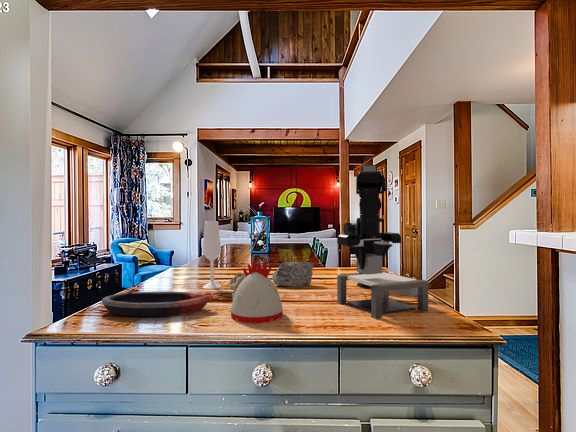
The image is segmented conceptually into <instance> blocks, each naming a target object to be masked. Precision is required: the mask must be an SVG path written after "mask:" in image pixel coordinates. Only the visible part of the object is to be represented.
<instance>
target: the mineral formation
mask: <svg viewBox="0 0 576 432" xmlns="http://www.w3.org/2000/svg"><path fill="white" fill-rule="evenodd" d="M245 277H246V276H245V274H244V272H240V271H239V272H236V274H235V275H234V277H233V278H231V279H230V282H229V284H230V285H231V286H230V290H231V291H233V292H232V294H231V298H232V300H233V298H234V295H235V292H236V290H237V288H238V286H239V284H240V283H241V282H242V280H243V279H244V278H245Z"/></svg>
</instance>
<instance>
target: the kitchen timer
mask: <svg viewBox="0 0 576 432" xmlns="http://www.w3.org/2000/svg"><path fill="white" fill-rule="evenodd" d="M267 263H268V262H267V261H265V262H264V263H263V266H262V263H261V260H258V261H257V263H256V260H255V259H254V260H253V261H252V264H247V269H248V271H247V269H246V268H245V267H244V268H242V270H243V273H244V274H245V276H246V277H245V278H244V279H243V280H242V282H241V283H240V284H239V286H238V288H237V290H236V292H235V295H234V298H233V299H232V303H231V307H230V317H231V319H232V320H233V321H235V322H238V323H244V324H264V323H271V322H275V320H276V321H278V320H280V319H281V318H282V317H283V304H282V300H281V297H280V293H279V290H278V289H277V286H276V284H274V282H273V280H272V279H271V278H269V276H270V273H271V270H272V266H270V267H268V266H267V265H268V264H267ZM251 265H252V266H251ZM279 318H280V319H279ZM277 319H278V320H277Z"/></svg>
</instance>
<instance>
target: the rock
mask: <svg viewBox="0 0 576 432" xmlns="http://www.w3.org/2000/svg"><path fill="white" fill-rule="evenodd" d="M313 269H314V263H313V262H304V261H303V262H301V261H300V262H299V261H290V262H289V261H288V262H287V261H285V262H282V263H281V264H280V265H279V266H278V267H277V269H276V270H275V271H274V273H273V274H272V275H271V276H272V282H273V283H274V285H275V286H276V285H277V286H281V287H295V288H296V287H301V288H302V287H308V286H309V285H310V284H311V283H312V280H313V279H312V278H313Z"/></svg>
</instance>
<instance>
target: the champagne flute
mask: <svg viewBox="0 0 576 432" xmlns="http://www.w3.org/2000/svg"><path fill="white" fill-rule="evenodd" d="M219 227H220V226H219V221H217V220H216V221H215V220H206V221H204V230H203V241H202V250H201V251H202V254H203V256H204V257H205V258H206V259H207V260H208V261H209V263H210V264H209V265H210V267H209V268H210V273H209V275H210V280H209V282H208V283H206V284H204V286H202V288H203V289H206V290H207V289H209V290H211V289H212V290H213V289H214V290H215V289H220V288H222V285H220V284H219V283H217V282H215V281H214V280H215V279H214V278H215V276H214V274H215V273H214V272H215V271H214V268H215V267H214V263H215V260H217V258H219V256H220V255H221V252H222V245H221V235H220V228H219Z"/></svg>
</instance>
